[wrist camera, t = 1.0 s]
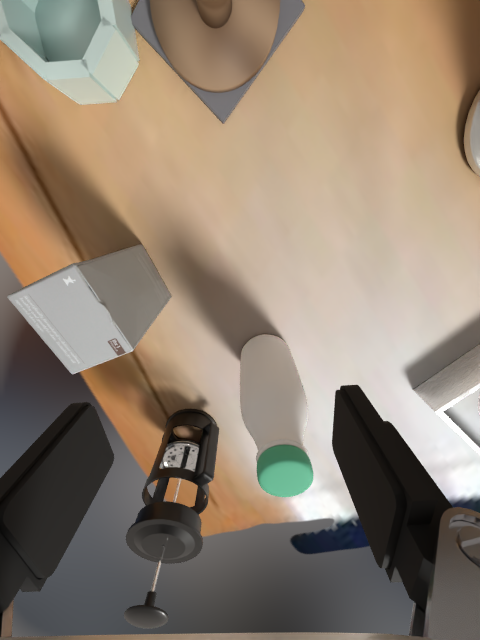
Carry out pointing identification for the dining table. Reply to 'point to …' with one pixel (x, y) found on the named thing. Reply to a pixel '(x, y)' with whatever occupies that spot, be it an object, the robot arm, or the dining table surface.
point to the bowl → (74, 44)
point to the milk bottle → (275, 415)
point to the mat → (214, 101)
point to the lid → (216, 39)
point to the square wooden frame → (453, 388)
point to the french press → (173, 506)
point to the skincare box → (95, 307)
